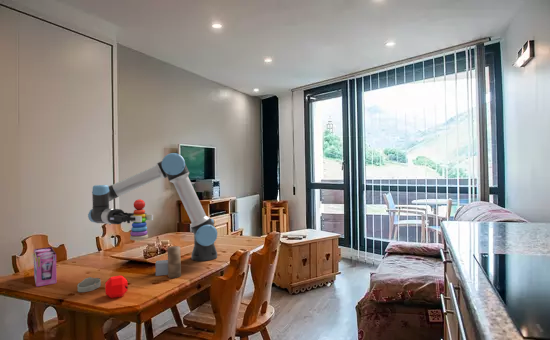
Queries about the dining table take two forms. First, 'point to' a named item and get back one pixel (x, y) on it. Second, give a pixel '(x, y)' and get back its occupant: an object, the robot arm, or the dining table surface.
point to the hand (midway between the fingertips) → (146, 218)
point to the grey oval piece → (89, 284)
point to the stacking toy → (139, 227)
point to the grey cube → (161, 267)
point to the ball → (116, 286)
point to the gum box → (44, 266)
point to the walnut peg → (174, 262)
